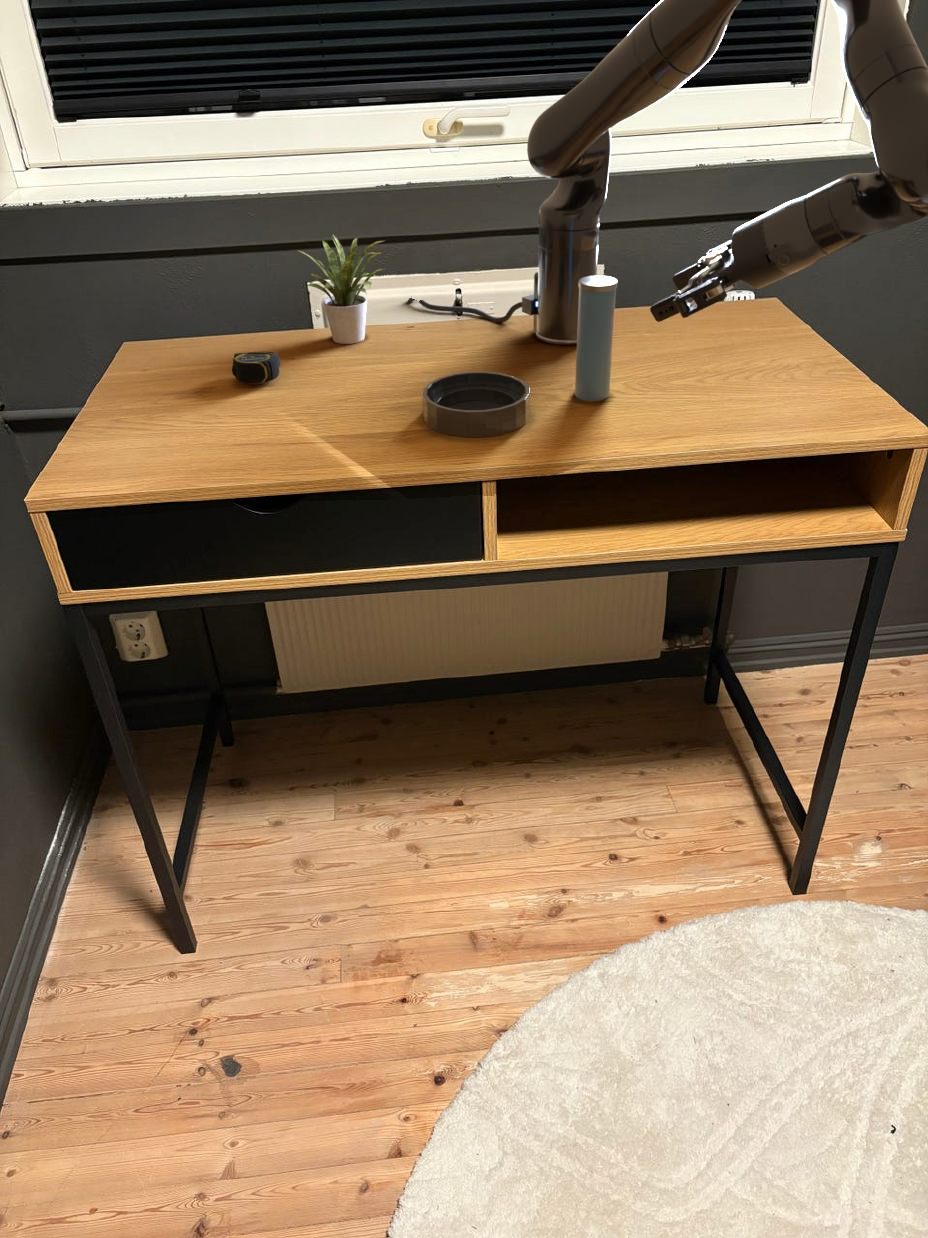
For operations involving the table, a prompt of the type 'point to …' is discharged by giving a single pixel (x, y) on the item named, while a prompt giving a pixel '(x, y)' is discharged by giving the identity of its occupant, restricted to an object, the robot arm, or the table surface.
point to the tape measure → (256, 367)
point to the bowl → (476, 404)
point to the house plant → (345, 293)
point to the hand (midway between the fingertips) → (665, 298)
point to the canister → (595, 337)
